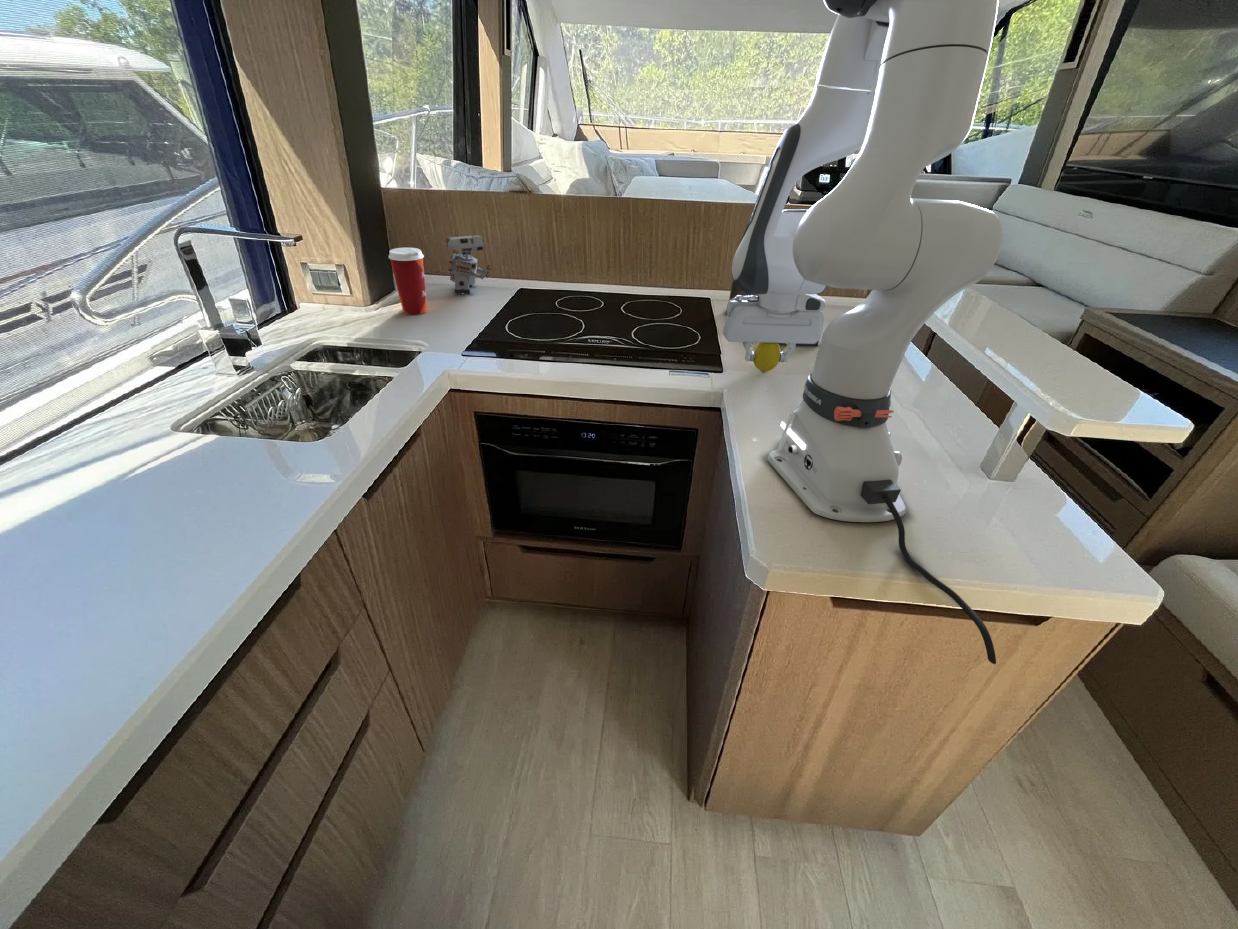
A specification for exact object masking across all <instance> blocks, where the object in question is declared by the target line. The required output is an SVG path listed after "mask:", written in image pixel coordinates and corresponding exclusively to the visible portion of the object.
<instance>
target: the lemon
mask: <svg viewBox="0 0 1238 929" xmlns="http://www.w3.org/2000/svg"><path fill="white" fill-rule="evenodd" d="M780 346H781V345H779V344H778V343H763V342H757V345H756V346H755V349H754V350H753V352H754V353H755V357H754V361H752V362H753V365H754V367H755V368H756V369H757V370H759V371H760V373H761V374H765V373H766V372H770V371H772V370H773V369H775V368H776V367H777V366H778V364H779V363H780V362H779V359H780V352H781V347H780Z"/></svg>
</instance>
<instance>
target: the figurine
mask: <svg viewBox="0 0 1238 929" xmlns="http://www.w3.org/2000/svg"><path fill="white" fill-rule="evenodd" d="M445 246H446V248H447V249H448V250H454V251H453V252H451V256H450V257H449V259H448V271H449V277H450V278H449V280H450V281H451V282H453V283H454V294H456V295H461V296H462V295H469V296H470V294H471V289H470V288H472V287H473V286H474V285H475V284H476V282H477V279H481V280H484V279H485V277H486V278H487V279H489V276H488V275H489V274H490V272H489V271H491V270H492V268H491V266H490V265H489V264H488V265H487V267H486V268H485V269H484V268H483V269H482V268H481V267H479V266H478V258H476V257H474V256H473V255H472V252H479V251H480V252H481V251H485V244H484V239H483V238H482V236H481V234H473V235H472V234H471V235H463V236H462V235H461V236H452V237H451V236H450V237H447V238H446V240H445ZM488 270H489V271H488ZM479 273H480V274H479Z"/></svg>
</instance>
